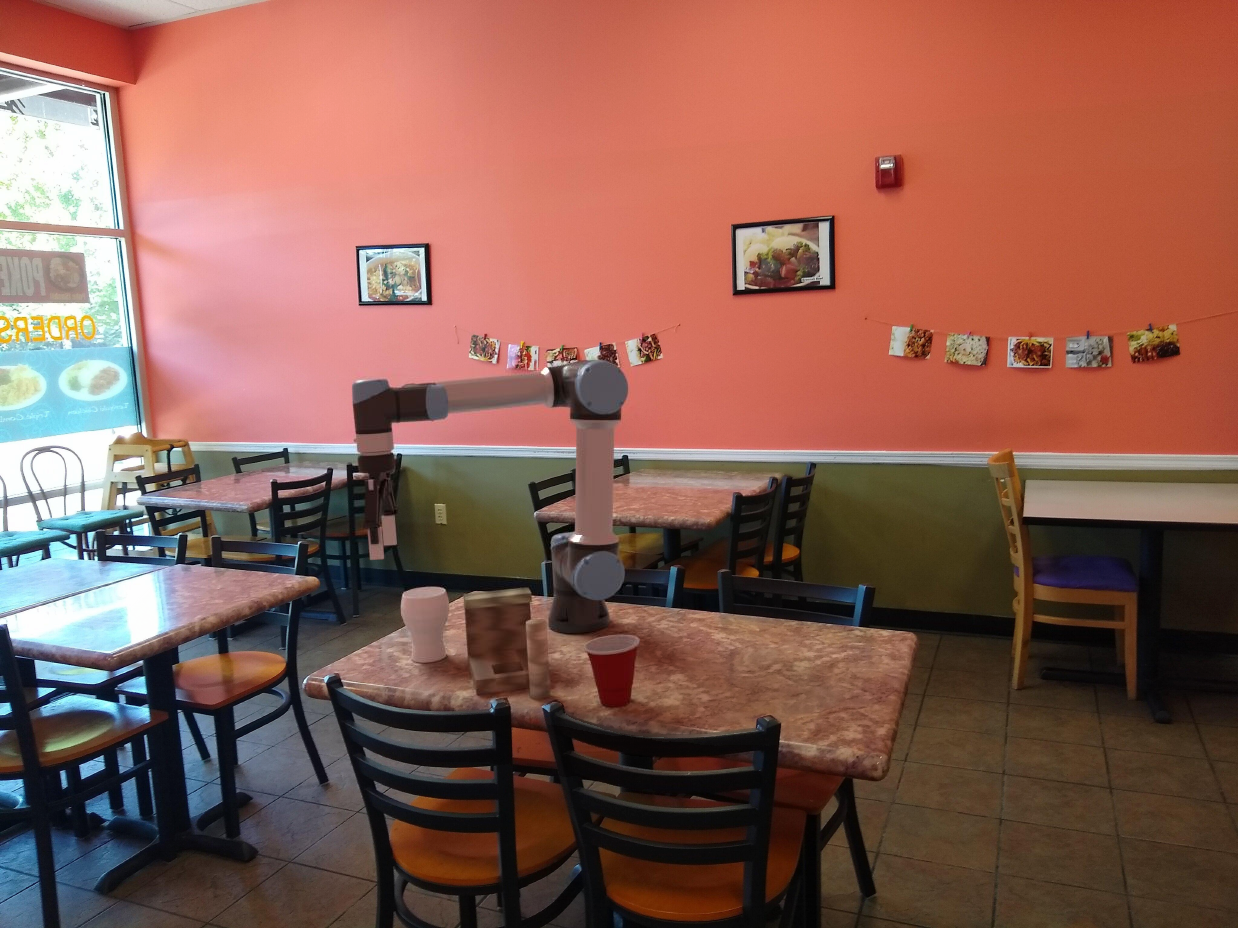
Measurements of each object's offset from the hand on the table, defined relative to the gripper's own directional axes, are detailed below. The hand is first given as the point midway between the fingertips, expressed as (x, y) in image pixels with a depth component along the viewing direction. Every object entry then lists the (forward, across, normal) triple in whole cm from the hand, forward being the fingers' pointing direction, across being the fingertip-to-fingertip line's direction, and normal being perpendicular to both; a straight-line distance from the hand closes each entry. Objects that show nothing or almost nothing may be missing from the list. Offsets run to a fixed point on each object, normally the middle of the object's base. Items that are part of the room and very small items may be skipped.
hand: (384, 551), depth 196 cm
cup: (+27, -8, +6) cm, 28 cm away
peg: (+26, +20, +32) cm, 46 cm away
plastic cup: (+27, +25, +47) cm, 59 cm away
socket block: (+26, +7, +25) cm, 37 cm away
